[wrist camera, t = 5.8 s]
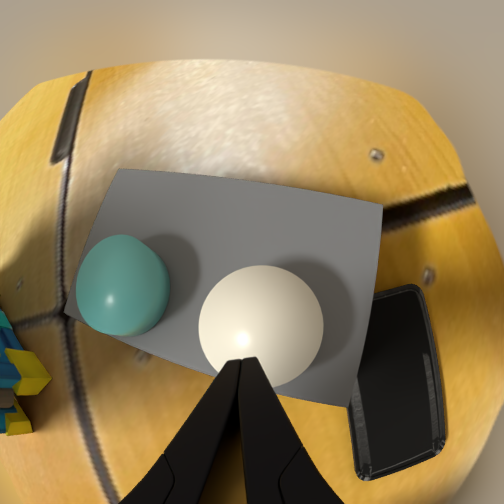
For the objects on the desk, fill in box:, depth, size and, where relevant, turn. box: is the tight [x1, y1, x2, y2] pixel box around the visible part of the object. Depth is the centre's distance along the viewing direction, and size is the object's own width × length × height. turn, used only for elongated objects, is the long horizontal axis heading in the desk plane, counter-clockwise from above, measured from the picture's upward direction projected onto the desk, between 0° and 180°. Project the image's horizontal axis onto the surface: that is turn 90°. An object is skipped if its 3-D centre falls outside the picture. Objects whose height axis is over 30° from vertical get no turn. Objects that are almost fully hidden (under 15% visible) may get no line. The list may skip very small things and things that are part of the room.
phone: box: [346, 284, 445, 481], centre depth 18 cm, size 8×1×15 cm
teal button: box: [76, 235, 170, 337], centre depth 16 cm, size 5×5×5 cm
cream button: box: [199, 265, 323, 387], centre depth 14 cm, size 5×5×5 cm
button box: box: [64, 169, 383, 408], centre depth 19 cm, size 11×18×8 cm, turn 75°
